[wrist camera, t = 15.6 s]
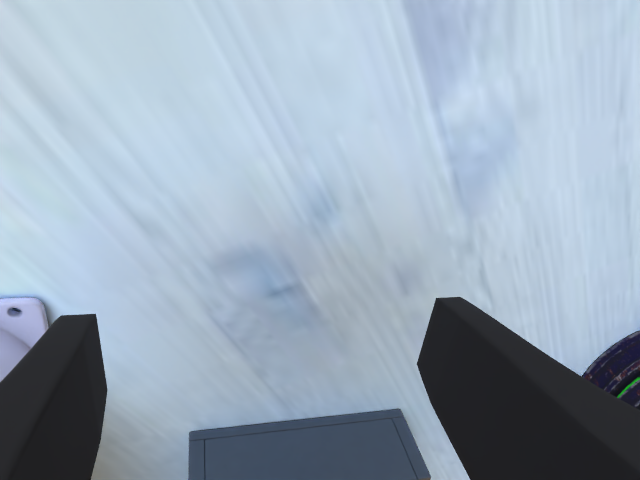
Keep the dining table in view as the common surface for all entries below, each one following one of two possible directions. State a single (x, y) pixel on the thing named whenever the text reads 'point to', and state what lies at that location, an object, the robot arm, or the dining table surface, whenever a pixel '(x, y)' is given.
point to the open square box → (310, 450)
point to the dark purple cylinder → (619, 370)
